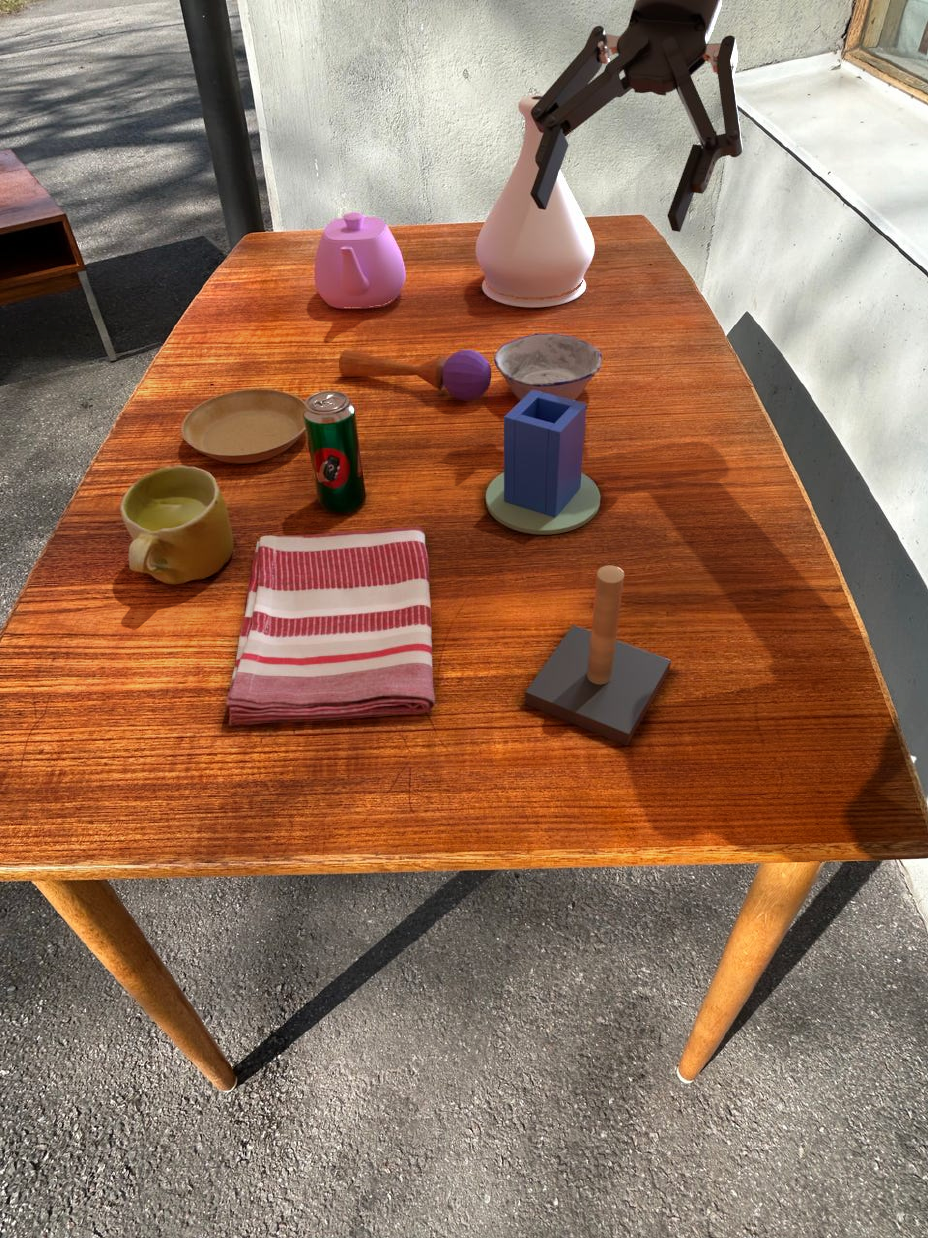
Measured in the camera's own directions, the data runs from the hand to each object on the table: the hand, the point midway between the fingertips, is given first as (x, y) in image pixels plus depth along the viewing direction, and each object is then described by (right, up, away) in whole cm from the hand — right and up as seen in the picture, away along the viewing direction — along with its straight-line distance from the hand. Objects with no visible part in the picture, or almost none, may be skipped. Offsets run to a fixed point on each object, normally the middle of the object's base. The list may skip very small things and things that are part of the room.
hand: (603, 212), depth 80 cm
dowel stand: (-2, -43, -8) cm, 44 cm away
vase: (-2, +13, +51) cm, 52 cm away
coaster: (-5, -25, +11) cm, 28 cm away
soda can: (-26, -25, +12) cm, 38 cm away
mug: (-40, -33, +5) cm, 52 cm away
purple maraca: (-19, -9, +29) cm, 36 cm away
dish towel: (-24, -38, -2) cm, 45 cm away
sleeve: (-5, -25, +11) cm, 27 cm away
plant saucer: (-38, -17, +22) cm, 47 cm away
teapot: (-28, +10, +49) cm, 57 cm away
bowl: (-3, -9, +28) cm, 29 cm away
